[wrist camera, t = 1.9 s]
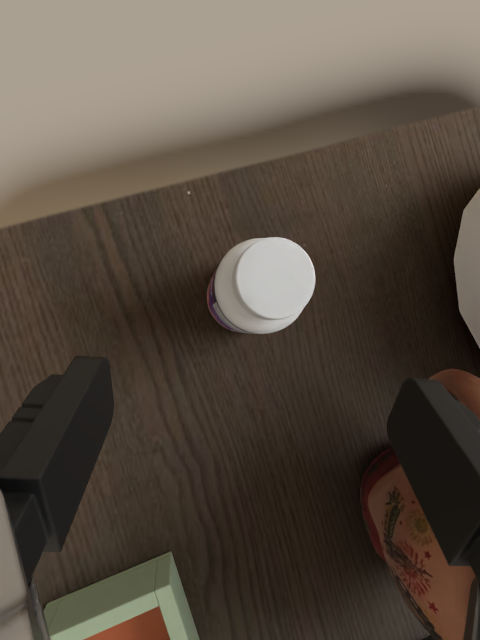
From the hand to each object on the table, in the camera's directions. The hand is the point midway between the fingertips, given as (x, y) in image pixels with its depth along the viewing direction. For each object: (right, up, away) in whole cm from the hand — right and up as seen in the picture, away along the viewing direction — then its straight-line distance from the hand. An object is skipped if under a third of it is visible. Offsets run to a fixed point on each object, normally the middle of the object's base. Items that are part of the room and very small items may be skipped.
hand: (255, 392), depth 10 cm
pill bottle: (0, +4, +17) cm, 17 cm away
